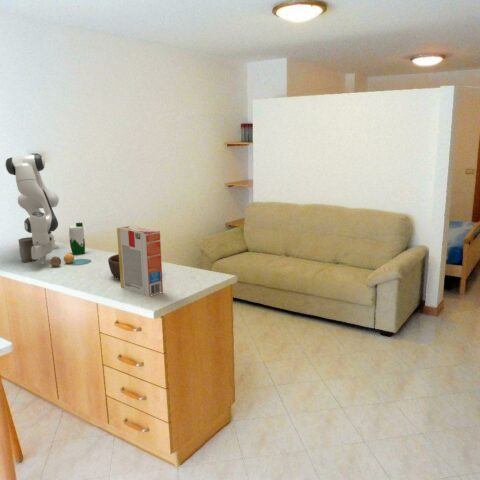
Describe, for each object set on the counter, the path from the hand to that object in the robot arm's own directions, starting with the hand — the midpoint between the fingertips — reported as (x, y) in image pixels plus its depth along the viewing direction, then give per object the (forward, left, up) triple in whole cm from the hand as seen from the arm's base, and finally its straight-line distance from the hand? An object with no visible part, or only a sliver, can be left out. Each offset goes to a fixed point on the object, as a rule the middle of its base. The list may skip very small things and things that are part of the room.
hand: (43, 263), depth 269 cm
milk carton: (-24, +21, -2) cm, 32 cm away
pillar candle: (-18, -8, -2) cm, 20 cm away
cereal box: (+69, +44, -2) cm, 82 cm away
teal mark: (0, +20, -2) cm, 20 cm away
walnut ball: (+5, +7, +1) cm, 8 cm away
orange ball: (0, +14, +1) cm, 14 cm away
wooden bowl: (+42, +45, -2) cm, 62 cm away
